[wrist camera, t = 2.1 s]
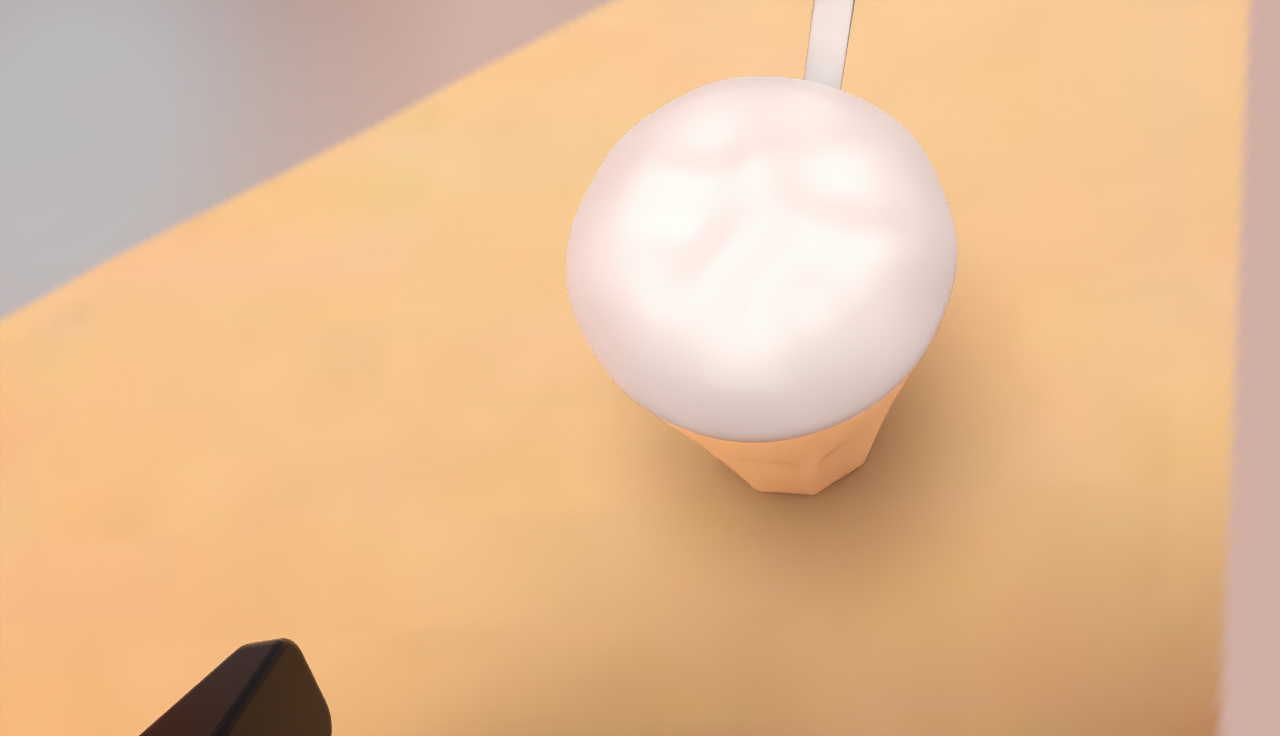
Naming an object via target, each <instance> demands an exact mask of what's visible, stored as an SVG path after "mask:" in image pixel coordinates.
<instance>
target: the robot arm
mask: <svg viewBox="0 0 1280 736" xmlns="http://www.w3.org/2000/svg"><path fill="white" fill-rule="evenodd" d="M331 734H332V724H331V716H330V712H329V708H328V706H327V703H326V701H325V699H324V697H323V695H322V693H321V691H320V689H319V687H318V685H317V682H316V680H315V678H314V676H313V674H312V672H311V670H310V668H309V666H308V664H307V662H306V660H305V658H304V656H303V654H302V652H301V650H300V648H299V647H298V645H296V644H295V643H294V642H293V641H292V640H289V639H285V638H281V639H274V640H268V641H261V642H255V643H250V644H246V645H244V646H241V647H240V648H239V649H237V650H236V651H235V652H234V653H233V654H231V655H230V656H229V657H228V658H227V659H226V660H225V661H223V662H222V663H221V664H220V665H219V666H218V667H217V668H216V669H214V670H213V671H212V672H211V673H210V674H209V675H208V676H206V677H205V678H204V679H203V680H202V681H201V682H200V683H198V684H197V685H196V686H195V687H194V688H193V689H192V690H191V691H189V692H188V693H187V694H186V695H185V696H184V697H183V698H181V699H180V700H179V701H178V702H177V703H176V704H175V705H173V706H172V707H171V708H170V709H169V710H168V711H167V712H166V713H164V714H163V715H162V716H161V717H160V718H159V719H158V720H156V721H155V722H154V723H153V724H152V725H151V726H150V727H148V728H147V729H146V730H145V731H144V732H143V733H142V734H141V735H139V736H331Z"/></svg>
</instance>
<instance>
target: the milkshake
mask: <svg viewBox="0 0 1280 736" xmlns="http://www.w3.org/2000/svg"><path fill="white" fill-rule="evenodd" d="M854 3H855V0H814V1H813V9H812V17H811V25H810V33H809V41H808V49H807V57H806V65H805V73H804V80H802V79H795V78H786V77H772V76H749V77H737V78H731V79H726V80H721V81H718V82H714V83H711V84H708V85H705V86H702V87H700V88H698V89H695V90H693V91H691V92H689V93H686V94H684V95H682V96H680V97H678V98H677V99H675V100H673V101H671V102H669V103H667V104H666V105H664V106H662V107H661V108H659V109H657V110H656V111H654V112H653V113H651V114H650V115H649V116H647V117H646V118H644V119H643V120H642V121H640V122H639V123H638V124H637V125H635V126H634V127H633V128H632V129H631V130H629V131H628V132H627V133H626V134H625V135H624V136H623V137H622V138H621V139H620V140H619V141H618V142H617V144H616V145H615V146H614V147H613V148H612V150H611V151H610V152H609V154H608V155H607V157H606V158H605V160H604V161H603V163H602V165H601V166H600V168H599V170H598V171H597V173H596V175H595V176H594V178H593V180H592V182H591V184H590V186H589V187H588V189H587V191H586V193H585V195H584V197H583V199H582V201H581V203H580V205H579V208H578V210H577V212H576V215H575V217H574V220H573V223H572V227H571V231H570V235H569V240H568V246H567V255H566V281H567V290H568V296H569V300H570V304H571V308H572V311H573V314H574V316H575V319H576V321H577V323H578V325H579V328H580V330H581V332H582V334H583V336H584V337H585V339H586V341H587V343H588V344H589V346H590V348H591V350H592V351H593V353H594V354H595V356H596V358H597V359H598V361H599V362H600V364H601V365H602V367H603V368H604V369H605V371H606V372H607V373H608V375H609V376H610V377H611V378H612V380H613V381H614V382H615V383H616V384H617V385H618V387H619V388H620V389H621V390H622V391H623V392H624V393H625V394H626V395H627V396H629V397H630V398H631V399H632V400H633V401H635V402H636V403H637V404H638V405H640V406H641V407H643V408H644V409H646V410H647V411H649V412H650V413H652V414H654V415H655V416H657V417H658V418H660V419H661V420H663V421H664V422H666V423H667V424H669V425H670V426H672V427H673V428H675V429H676V430H678V431H679V432H681V433H682V434H684V435H685V436H687V437H688V438H690V439H692V440H693V441H695V442H697V443H698V444H700V445H701V446H703V447H704V448H706V449H707V450H708V451H709V452H710V453H711V454H712V455H714V456H715V457H716V458H717V459H719V460H720V461H721V462H722V463H724V464H725V465H726V466H727V467H729V468H730V469H731V470H732V471H734V472H735V473H736V474H737V475H739V476H740V477H741V478H742V479H743V480H745V481H746V482H747V483H748V484H750V485H751V486H752V487H753V488H754V489H756V490H757V491H759V492H777V493H795V494H811V495H815V494H817V493H819V492H820V491H822V490H823V489H825V488H826V487H828V486H829V485H831V484H833V483H834V482H836V481H837V480H839V479H840V478H842V477H844V476H845V475H847V474H848V473H850V472H851V471H853V470H855V469H856V468H858V467H859V466H861V465H863V463H864V462H865V460H866V457H867V455H868V453H869V451H870V449H871V446H872V444H873V442H874V440H875V438H876V435H877V433H878V431H879V429H880V427H881V425H882V422H883V420H884V418H885V416H886V414H887V412H888V410H889V408H890V407H891V405H892V403H893V402H894V400H895V398H896V397H897V395H898V393H899V392H900V390H901V389H902V387H903V386H904V384H905V382H906V381H907V379H908V378H909V376H910V374H911V373H912V371H913V370H914V368H915V367H916V365H917V364H918V363H919V361H920V360H921V358H922V357H923V355H924V354H925V352H926V351H927V349H928V347H929V346H930V344H931V342H932V340H933V338H934V336H935V334H936V332H937V330H938V327H939V325H940V323H941V320H942V318H943V315H944V313H945V310H946V307H947V304H948V301H949V298H950V295H951V291H952V287H953V283H954V278H955V272H956V265H957V238H956V232H955V227H954V222H953V219H952V215H951V212H950V209H949V206H948V203H947V200H946V197H945V195H944V192H943V189H942V187H941V184H940V182H939V179H938V177H937V175H936V172H935V170H934V168H933V166H932V164H931V162H930V160H929V158H928V156H927V155H926V153H925V151H924V150H923V148H922V147H921V145H920V144H919V143H918V141H917V140H916V139H915V138H914V137H913V135H912V134H911V133H910V132H909V131H908V130H907V129H906V128H905V127H904V126H903V125H901V124H900V123H899V122H898V121H897V120H895V119H894V118H893V117H891V116H890V115H888V114H887V113H885V112H884V111H882V110H881V109H879V108H877V107H876V106H874V105H872V104H870V103H868V102H866V101H864V100H862V99H860V98H858V97H856V96H854V95H851V94H849V93H847V92H844V91H842V90H841V85H842V79H843V73H844V66H845V60H846V54H847V47H848V41H849V35H850V28H851V22H852V16H853V9H854Z"/></svg>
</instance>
